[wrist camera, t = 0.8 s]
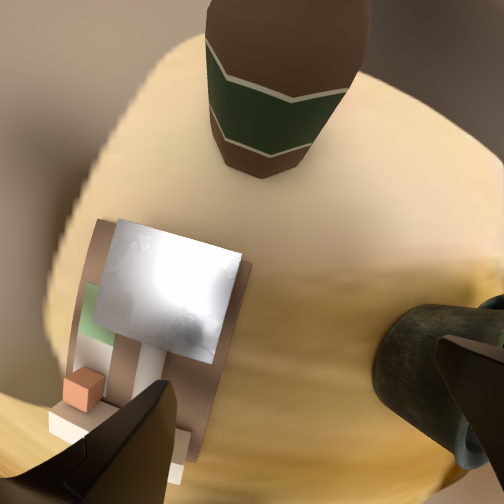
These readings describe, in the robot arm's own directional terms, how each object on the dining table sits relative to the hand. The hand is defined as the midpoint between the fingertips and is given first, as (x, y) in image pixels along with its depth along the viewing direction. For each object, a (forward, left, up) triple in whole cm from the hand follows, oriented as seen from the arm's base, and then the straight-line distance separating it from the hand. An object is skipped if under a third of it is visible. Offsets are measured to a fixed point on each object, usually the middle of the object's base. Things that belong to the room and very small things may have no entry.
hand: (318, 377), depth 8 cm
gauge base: (-5, +8, -13) cm, 16 cm away
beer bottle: (+14, +4, -13) cm, 19 cm away
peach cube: (-9, +11, -11) cm, 18 cm away
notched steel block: (+1, +7, -12) cm, 13 cm away
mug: (+1, -16, -13) cm, 21 cm away
